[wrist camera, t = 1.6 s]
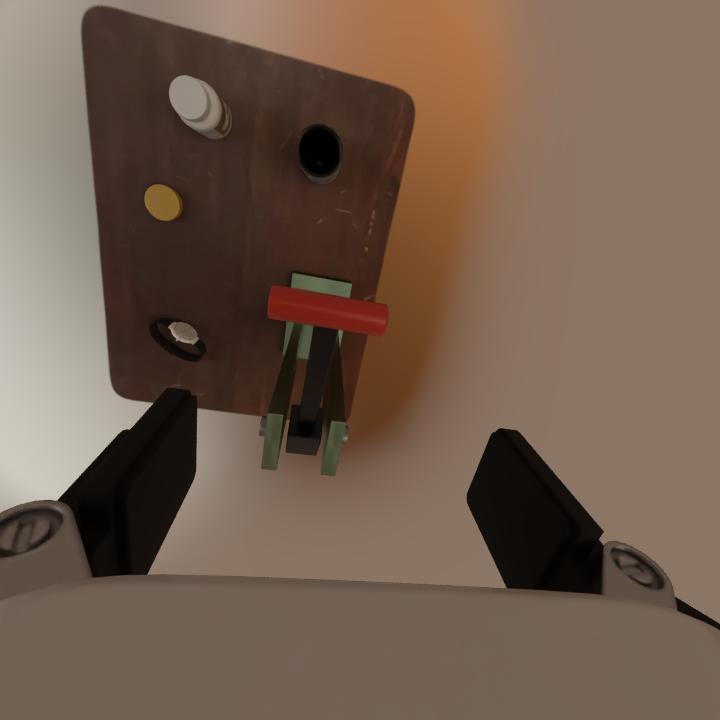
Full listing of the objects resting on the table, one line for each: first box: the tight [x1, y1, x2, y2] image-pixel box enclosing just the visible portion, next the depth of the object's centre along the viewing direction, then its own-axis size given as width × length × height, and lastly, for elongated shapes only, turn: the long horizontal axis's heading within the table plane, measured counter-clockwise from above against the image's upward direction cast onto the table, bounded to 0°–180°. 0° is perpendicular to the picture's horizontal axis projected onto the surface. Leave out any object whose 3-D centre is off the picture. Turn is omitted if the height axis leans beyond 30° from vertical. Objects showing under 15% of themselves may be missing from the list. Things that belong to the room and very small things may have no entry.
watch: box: [149, 318, 206, 362], centre depth 48 cm, size 8×5×4 cm, turn 48°
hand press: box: [259, 271, 352, 476], centre depth 36 cm, size 12×8×30 cm, turn 169°
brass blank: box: [144, 184, 183, 221], centre depth 42 cm, size 4×4×1 cm
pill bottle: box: [169, 75, 232, 139], centre depth 36 cm, size 4×4×8 cm
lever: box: [267, 285, 389, 456], centre depth 20 cm, size 14×5×2 cm, turn 169°
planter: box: [296, 123, 343, 185], centre depth 38 cm, size 4×4×10 cm
